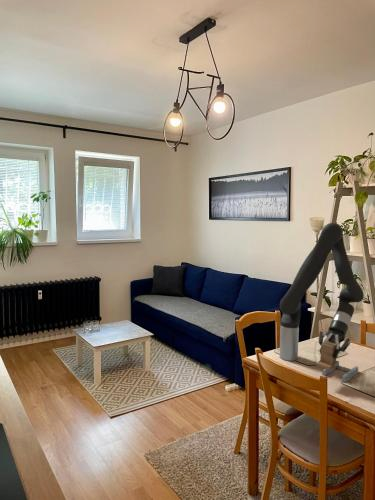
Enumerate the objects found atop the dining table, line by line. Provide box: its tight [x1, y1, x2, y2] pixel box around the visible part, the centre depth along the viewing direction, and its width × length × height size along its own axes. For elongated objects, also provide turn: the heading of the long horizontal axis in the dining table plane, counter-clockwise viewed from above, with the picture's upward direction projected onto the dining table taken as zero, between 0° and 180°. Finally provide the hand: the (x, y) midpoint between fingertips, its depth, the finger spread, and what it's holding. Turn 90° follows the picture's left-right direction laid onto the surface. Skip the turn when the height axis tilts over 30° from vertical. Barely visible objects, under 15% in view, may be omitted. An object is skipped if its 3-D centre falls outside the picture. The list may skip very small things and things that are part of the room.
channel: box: [321, 360, 359, 383], centre depth 174 cm, size 16×10×2 cm, turn 135°
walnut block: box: [315, 341, 339, 370], centre depth 162 cm, size 9×6×10 cm, turn 136°
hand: (327, 355), depth 162 cm, fingers closed on walnut block, 5 cm apart
